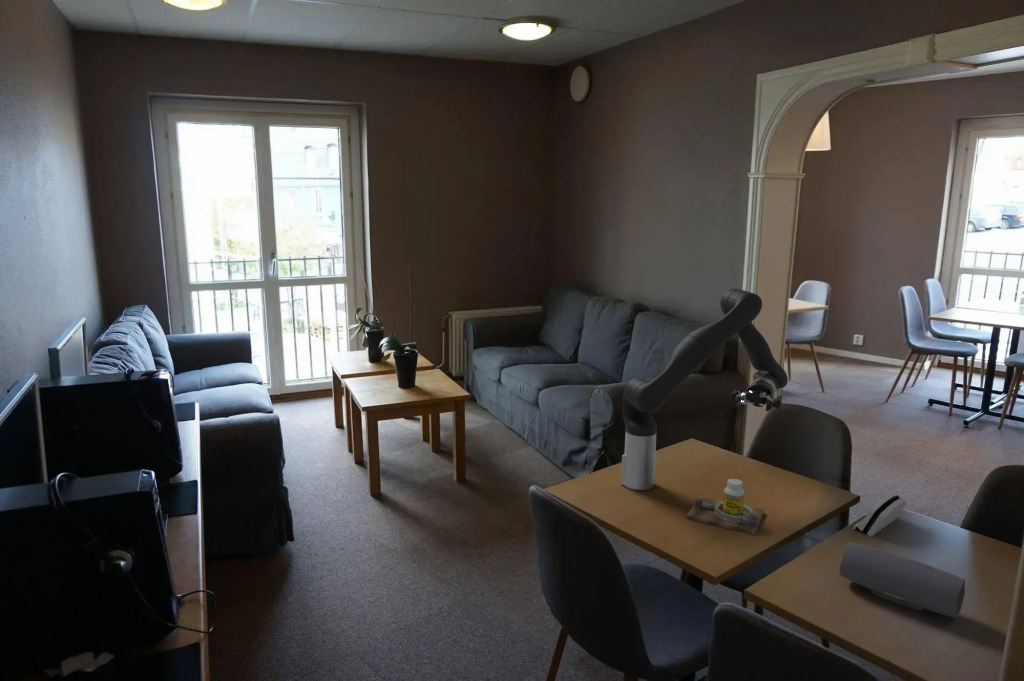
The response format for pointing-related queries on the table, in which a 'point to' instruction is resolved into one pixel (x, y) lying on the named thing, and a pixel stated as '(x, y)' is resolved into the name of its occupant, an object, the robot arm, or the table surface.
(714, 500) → the stand
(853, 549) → the bluetooth speaker
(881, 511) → the white two-tone part
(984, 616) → the table surface
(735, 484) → the supplement bottle
